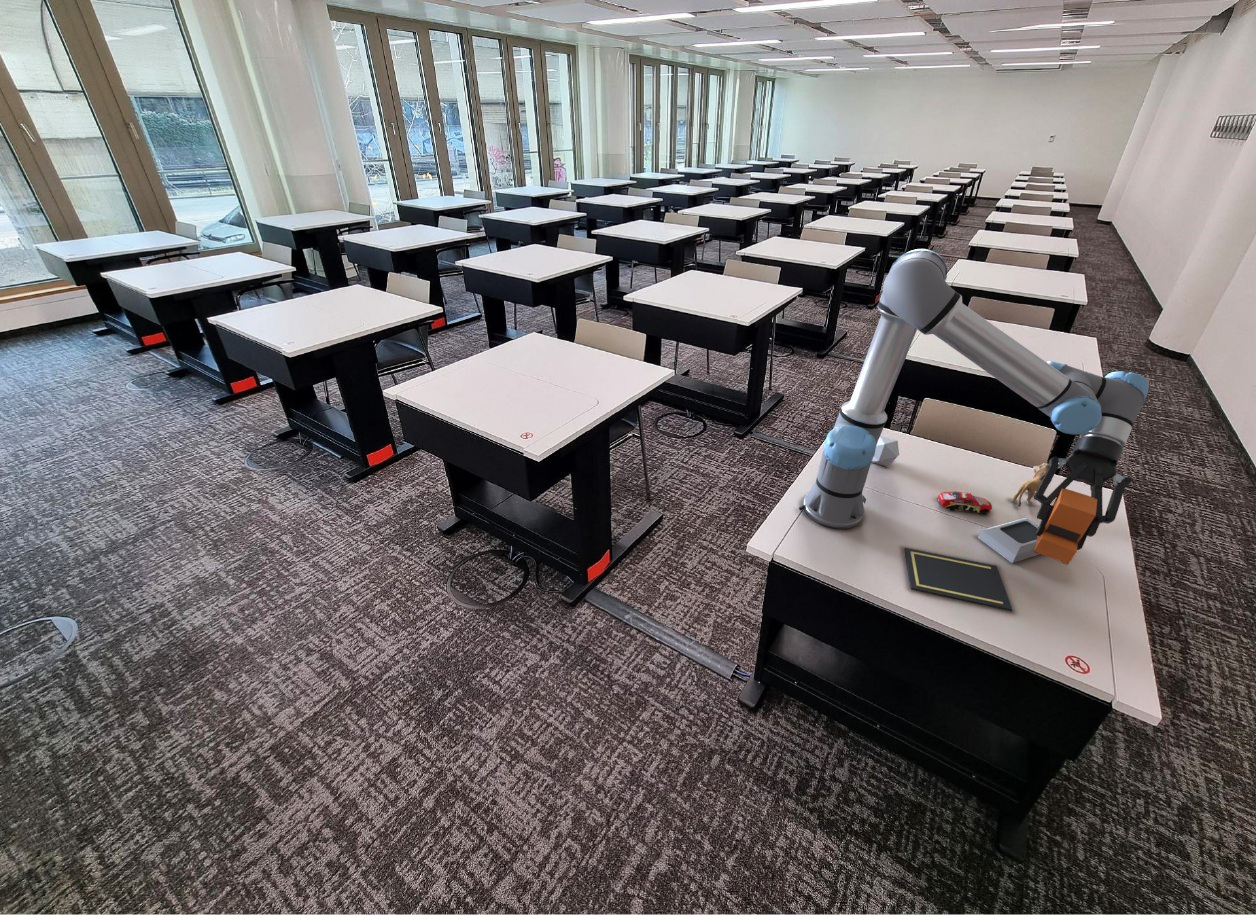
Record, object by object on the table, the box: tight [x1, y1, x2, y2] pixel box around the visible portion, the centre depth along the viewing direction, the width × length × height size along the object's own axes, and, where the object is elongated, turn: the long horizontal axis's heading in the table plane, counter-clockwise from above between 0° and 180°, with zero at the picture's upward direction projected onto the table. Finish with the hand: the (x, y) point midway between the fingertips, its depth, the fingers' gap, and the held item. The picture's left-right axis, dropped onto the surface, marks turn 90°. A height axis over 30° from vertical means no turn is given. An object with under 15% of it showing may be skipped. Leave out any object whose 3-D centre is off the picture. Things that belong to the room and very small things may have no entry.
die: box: [871, 435, 900, 468], centre depth 161 cm, size 8×9×10 cm
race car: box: [936, 491, 993, 516], centre depth 144 cm, size 13×5×4 cm, turn 76°
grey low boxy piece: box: [977, 517, 1040, 564], centre depth 132 cm, size 10×4×15 cm
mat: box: [903, 547, 1013, 612], centre depth 122 cm, size 20×14×1 cm
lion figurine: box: [1011, 462, 1053, 508], centre depth 146 cm, size 15×5×9 cm, turn 131°
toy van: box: [1033, 488, 1097, 565], centre depth 110 cm, size 10×6×12 cm, turn 141°
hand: (1057, 541), depth 110 cm, fingers closed on toy van, 6 cm apart
